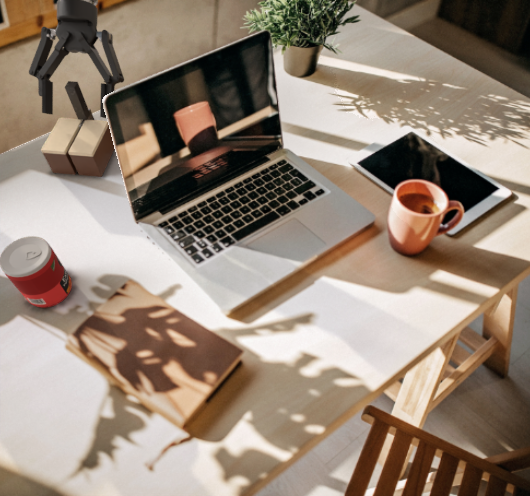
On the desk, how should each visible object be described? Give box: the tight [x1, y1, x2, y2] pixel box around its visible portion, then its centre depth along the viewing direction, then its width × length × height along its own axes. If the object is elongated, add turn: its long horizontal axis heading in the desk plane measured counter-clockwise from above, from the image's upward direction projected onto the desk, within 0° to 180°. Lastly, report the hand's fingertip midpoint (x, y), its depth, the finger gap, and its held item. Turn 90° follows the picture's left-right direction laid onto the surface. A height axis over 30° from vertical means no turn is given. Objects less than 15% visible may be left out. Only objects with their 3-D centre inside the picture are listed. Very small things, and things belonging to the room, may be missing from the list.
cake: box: [40, 117, 115, 178], centre depth 104 cm, size 10×11×7 cm
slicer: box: [64, 80, 95, 129], centre depth 104 cm, size 6×2×14 cm, turn 172°
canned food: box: [0, 235, 73, 309], centre depth 83 cm, size 8×8×11 cm
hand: (76, 115), depth 101 cm, fingers open, 12 cm apart
